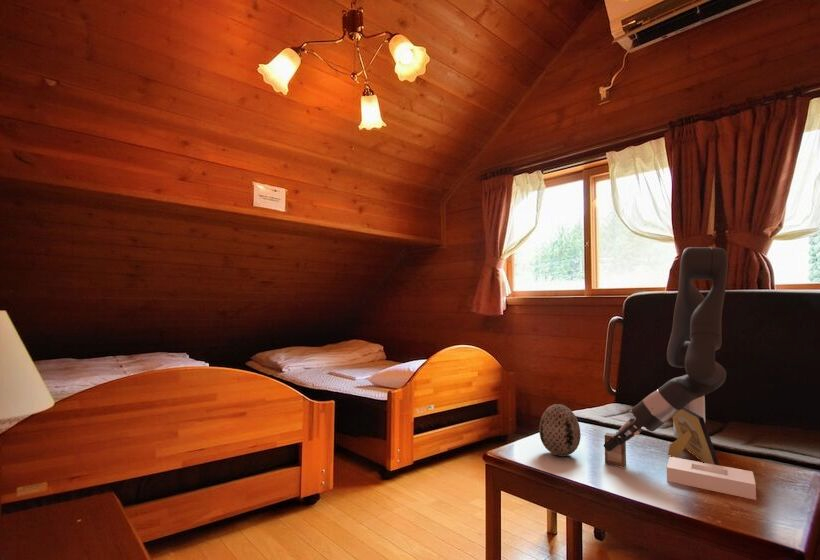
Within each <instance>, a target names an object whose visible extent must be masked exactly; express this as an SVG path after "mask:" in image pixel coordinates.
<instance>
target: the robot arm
mask: <svg viewBox="0 0 820 560" xmlns="http://www.w3.org/2000/svg"><path fill="white" fill-rule="evenodd" d="M679 264H680V265H679V275H678V278H679V279H678V289H677V296H676V301H675V304H674V310H673V311H674V312H673V317H672V318H673V320H672V329H671V333H670V336H669V341H668V345H667V350H666V360H667V362H668V364H669V365H670V366H671V367H674V368H681V369H683V368H684V369H685V372H686V374H684V375H682V376H678V377H677V376H676V377H674V378H672V379H669V380H668V381H666V382H665V383H664V384H663V385H662V386H659V388H658V389H656V390H654V391H653V392H651V393H649V394H648V395H647V396H645V397H644V398H643V399H641V400H640V401H639V402H637V404H636V405H634V406H633V407H632V408H631V413H632V415H633V416H634V418H632V417H630V418H629V419H628V420H627V421H626V422H625V423H624V424H623V425H621V427H620V428H619V429H618V431H616V432H615V434H616V435H614V436H613V438H611V439H610V440H609V441H608V442H606V443H605V442H604V444H603V447H604V449H605V448H606V450H607V451H611V450H612V449H613V448H615V447H616V446H617V445H622V443H624V442H625V441H626V442H628V441H630V440H631V439H632V438H633V437H635V436H638V435H639V434H640V433H642V431H643V429H642V428H645V429H646V430H648V431H649V432H655V431H657V429H659V428H660V427H661V426H663V425H664V424H665V423H667V422H668V421H669V420H671V419H672V417H673V416H674V415H675V414H676V413H677V412H678V411H679V410H681V409H682V408H686V409H688V410H690V411H692V412H694V413H695V414H697V415H699V416H701V417H703V418H704V421H705V422H706V400H705V399H706V398H705V395H709V394H711V393H712V392H714V391H716V390H717V389H719V388H720V387H721V386H722V385H723V384H724V383H725V382H726V378H727V371H726V369H725V368H724V367H723V365H722V364H720V363H719V362H717V361H716V351H718V350H720V349H721V348H722V341H723V339H722V335H723V334H722V325H723V324H722V319H723V318H722V316H723V308H724V307H723V306H724V302H725V295H726V288H727V280H728V269H729V256H728V253H727V251H726V249H724V248H723V247H704V246H703V247H701V246H699V247H698V246H694V247H691V246H689V247H686V248H684V250H683V252H682V253H681V257H680V261H679ZM694 280H703V281H706V280H707V281H712V284H711V288H710V290H709V292H708V293H707V295H706V296H704V295H703V293H702V292H701V291H700V290H699V289H698V287H697V286H696V285H695V283H694ZM672 425H673V428H672V429H673V437H674V439H676V440H677V439H678V438H679V437H678V434H677V431H676V428H675V425H674V422H672ZM618 436H620V437H621V438H622V439H623V440H621V439H620V438H619V437H618Z"/></svg>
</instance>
